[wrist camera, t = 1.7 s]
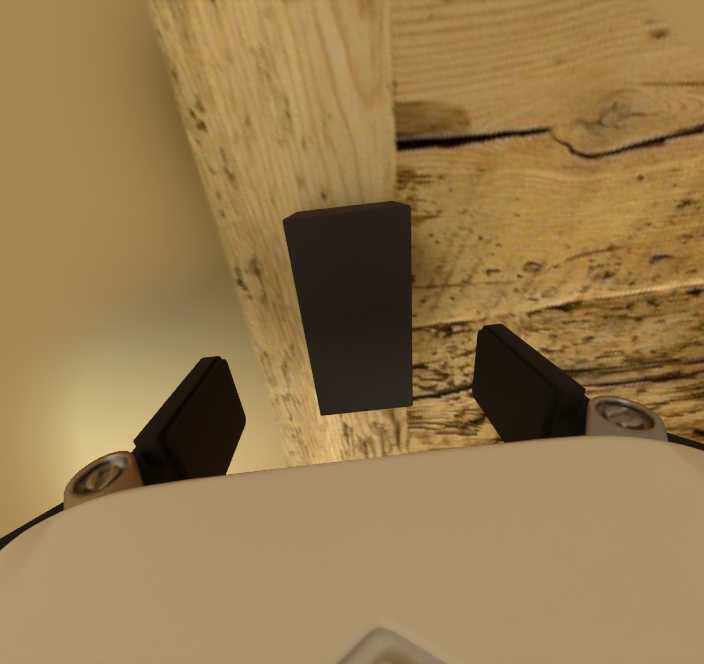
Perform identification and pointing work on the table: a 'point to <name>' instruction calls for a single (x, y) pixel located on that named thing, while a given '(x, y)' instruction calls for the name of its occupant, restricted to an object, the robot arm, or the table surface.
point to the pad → (355, 303)
